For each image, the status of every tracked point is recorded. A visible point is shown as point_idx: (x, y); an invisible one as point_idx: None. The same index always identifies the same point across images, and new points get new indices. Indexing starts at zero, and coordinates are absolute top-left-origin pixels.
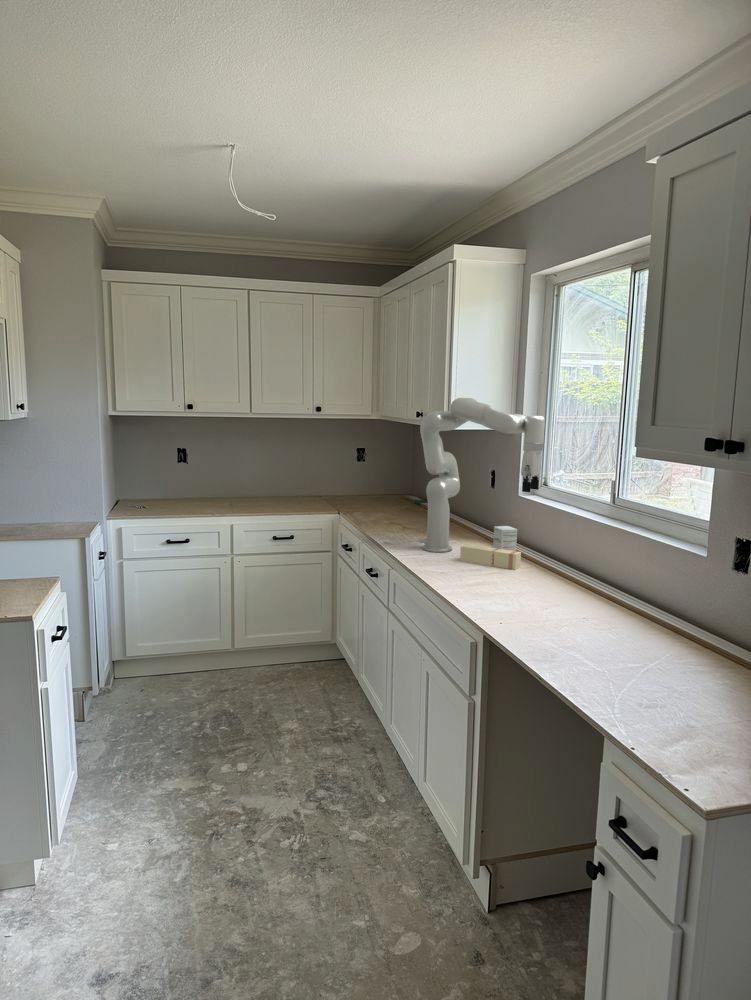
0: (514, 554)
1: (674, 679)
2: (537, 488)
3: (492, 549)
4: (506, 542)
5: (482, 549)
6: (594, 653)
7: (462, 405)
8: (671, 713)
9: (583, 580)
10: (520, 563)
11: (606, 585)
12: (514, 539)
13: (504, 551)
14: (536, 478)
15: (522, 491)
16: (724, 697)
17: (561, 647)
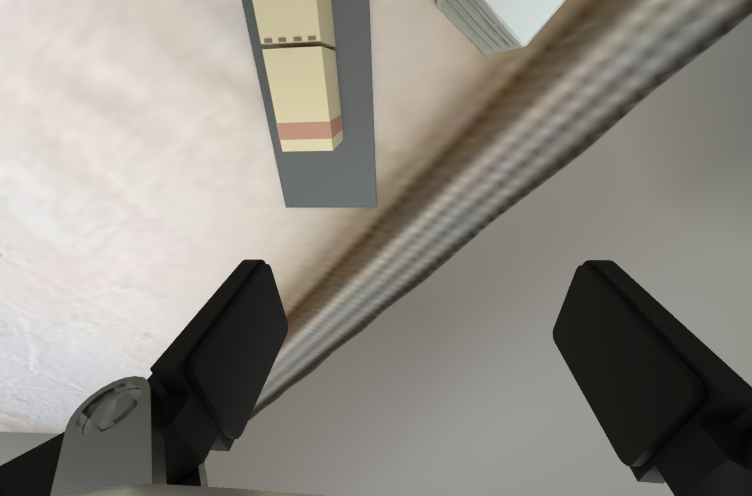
0: (281, 145)
1: None
2: (555, 343)
3: (287, 22)
4: (462, 9)
5: None
6: (59, 360)
7: None
8: (29, 409)
9: (348, 293)
10: (340, 142)
11: (343, 329)
12: (497, 41)
13: (293, 90)
14: (679, 488)
15: (249, 261)
16: None
17: (31, 335)
